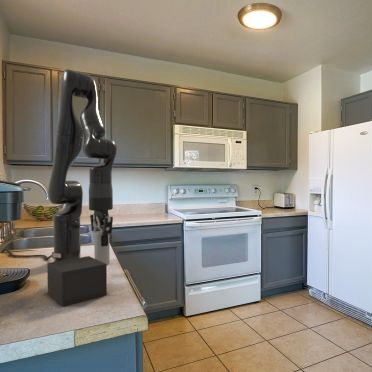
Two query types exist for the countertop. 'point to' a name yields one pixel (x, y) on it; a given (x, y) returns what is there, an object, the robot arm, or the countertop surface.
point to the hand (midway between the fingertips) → (101, 244)
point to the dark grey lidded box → (76, 280)
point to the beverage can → (101, 249)
